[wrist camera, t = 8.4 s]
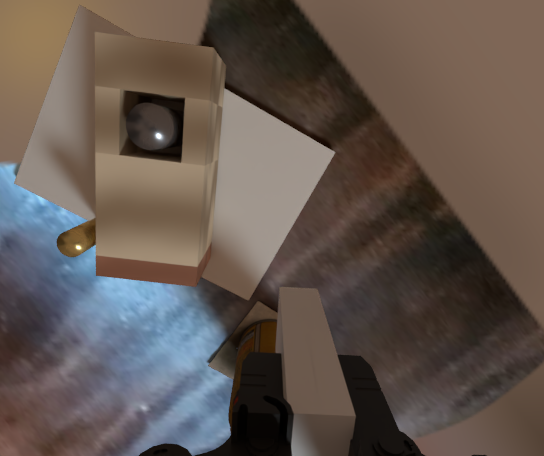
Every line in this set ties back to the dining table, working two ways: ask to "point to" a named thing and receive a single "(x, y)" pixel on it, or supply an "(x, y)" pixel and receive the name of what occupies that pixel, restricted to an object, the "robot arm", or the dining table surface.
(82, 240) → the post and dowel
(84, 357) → the dining table surface
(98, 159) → the beige block with hole
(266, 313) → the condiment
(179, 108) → the base board
